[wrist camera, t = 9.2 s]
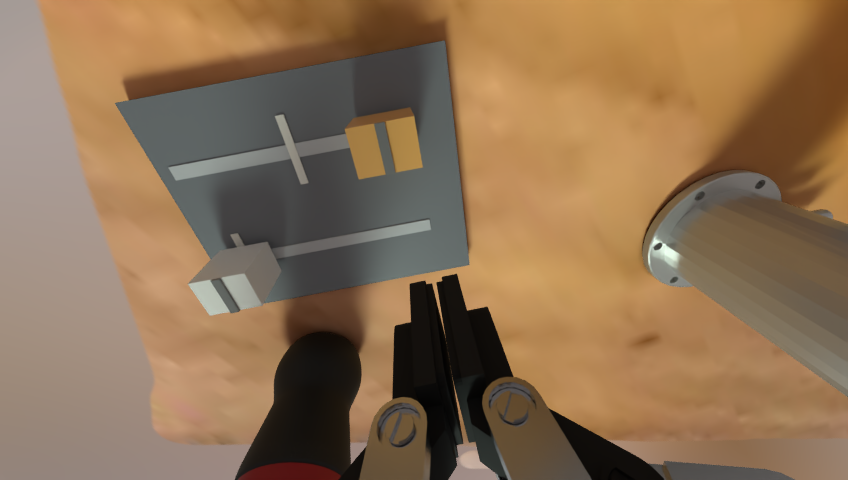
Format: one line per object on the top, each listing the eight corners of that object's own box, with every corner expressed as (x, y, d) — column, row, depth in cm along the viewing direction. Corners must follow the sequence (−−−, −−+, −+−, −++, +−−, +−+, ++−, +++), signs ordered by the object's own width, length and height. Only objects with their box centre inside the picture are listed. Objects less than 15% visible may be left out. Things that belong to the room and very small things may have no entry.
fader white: (267, 241, 25) (242, 274, 21) (281, 270, 27) (261, 307, 23) (219, 250, 25) (186, 285, 21) (236, 279, 27) (208, 317, 23)
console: (442, 41, 21) (445, 40, 20) (466, 258, 30) (469, 265, 29) (128, 101, 21) (112, 103, 20) (246, 299, 30) (239, 308, 29)
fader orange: (410, 107, 21) (414, 116, 17) (417, 150, 23) (423, 168, 19) (353, 117, 21) (343, 129, 17) (364, 160, 23) (358, 180, 19)
